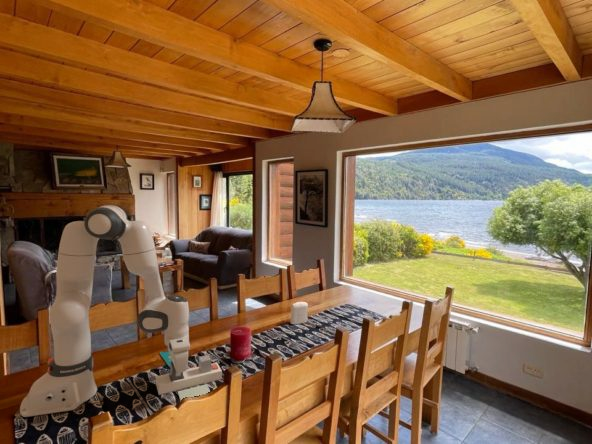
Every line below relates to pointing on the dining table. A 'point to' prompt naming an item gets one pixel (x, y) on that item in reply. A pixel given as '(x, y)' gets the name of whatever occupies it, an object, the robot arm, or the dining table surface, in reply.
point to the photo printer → (299, 313)
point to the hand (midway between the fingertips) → (176, 371)
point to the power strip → (190, 376)
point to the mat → (193, 391)
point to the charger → (172, 373)
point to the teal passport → (166, 357)
